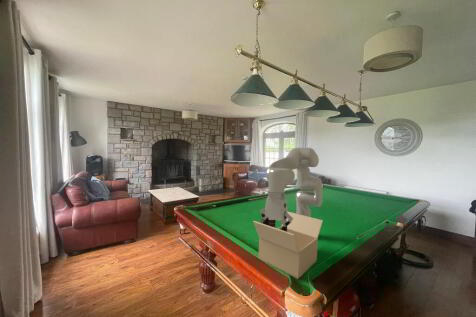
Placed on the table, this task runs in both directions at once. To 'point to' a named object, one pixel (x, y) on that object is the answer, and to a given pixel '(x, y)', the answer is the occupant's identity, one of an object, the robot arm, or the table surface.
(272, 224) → the supplement box
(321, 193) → the robot arm
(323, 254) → the table surface
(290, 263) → the carton
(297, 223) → the rear flap
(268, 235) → the front flap
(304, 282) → the table surface
